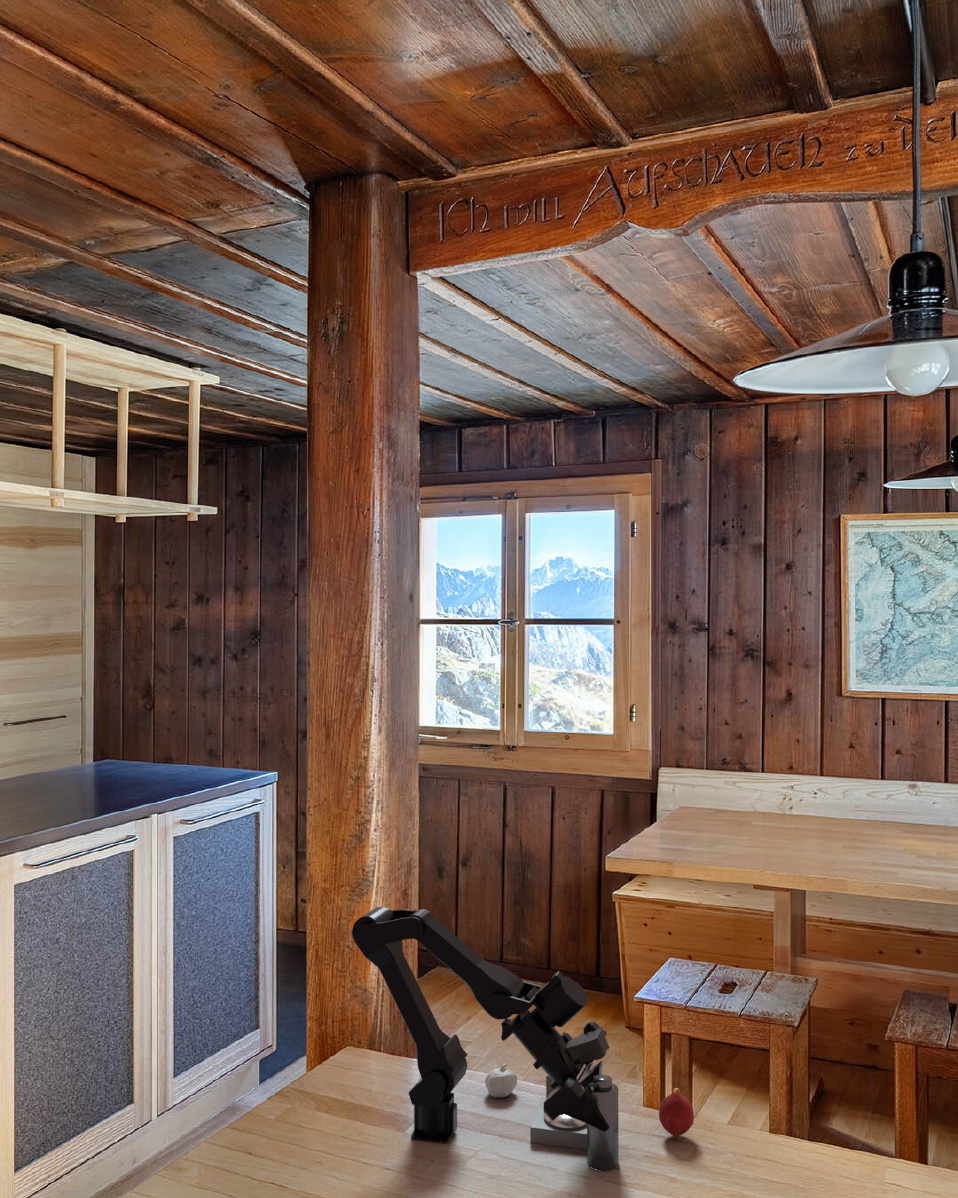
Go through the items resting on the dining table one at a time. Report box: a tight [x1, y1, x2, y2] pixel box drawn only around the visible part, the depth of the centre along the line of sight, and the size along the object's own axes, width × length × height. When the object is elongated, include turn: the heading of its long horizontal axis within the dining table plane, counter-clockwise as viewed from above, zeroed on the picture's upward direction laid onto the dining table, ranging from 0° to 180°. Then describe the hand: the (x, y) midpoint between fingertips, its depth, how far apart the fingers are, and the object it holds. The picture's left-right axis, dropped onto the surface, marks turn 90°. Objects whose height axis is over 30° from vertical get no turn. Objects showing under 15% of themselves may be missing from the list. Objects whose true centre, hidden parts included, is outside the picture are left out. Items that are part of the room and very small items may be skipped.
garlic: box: [484, 1063, 518, 1098], centre depth 193 cm, size 6×5×5 cm
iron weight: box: [586, 1073, 620, 1172], centre depth 169 cm, size 5×5×14 cm
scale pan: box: [544, 1112, 587, 1130], centre depth 179 cm, size 8×8×1 cm
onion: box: [658, 1087, 695, 1138], centre depth 177 cm, size 6×6×8 cm
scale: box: [529, 1073, 587, 1150], centre depth 180 cm, size 11×11×7 cm
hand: (611, 1122), depth 169 cm, fingers closed on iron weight, 5 cm apart
